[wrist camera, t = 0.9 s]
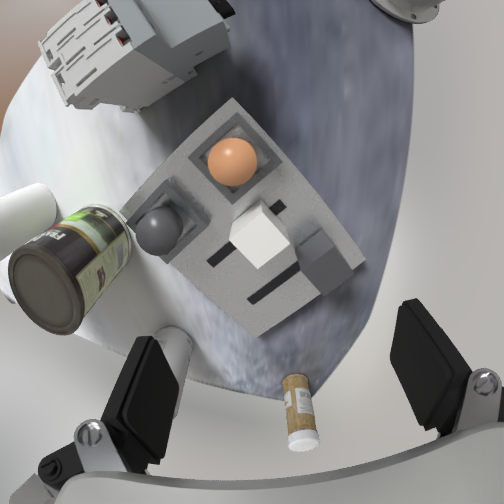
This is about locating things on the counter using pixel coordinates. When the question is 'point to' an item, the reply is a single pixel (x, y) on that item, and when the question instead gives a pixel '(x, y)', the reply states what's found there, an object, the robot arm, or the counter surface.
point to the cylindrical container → (25, 216)
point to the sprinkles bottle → (299, 414)
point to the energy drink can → (176, 354)
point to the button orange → (232, 161)
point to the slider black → (323, 263)
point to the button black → (159, 230)
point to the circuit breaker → (132, 49)
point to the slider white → (259, 234)
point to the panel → (231, 208)
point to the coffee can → (69, 267)
